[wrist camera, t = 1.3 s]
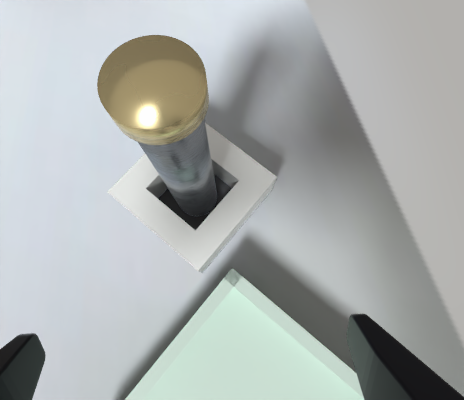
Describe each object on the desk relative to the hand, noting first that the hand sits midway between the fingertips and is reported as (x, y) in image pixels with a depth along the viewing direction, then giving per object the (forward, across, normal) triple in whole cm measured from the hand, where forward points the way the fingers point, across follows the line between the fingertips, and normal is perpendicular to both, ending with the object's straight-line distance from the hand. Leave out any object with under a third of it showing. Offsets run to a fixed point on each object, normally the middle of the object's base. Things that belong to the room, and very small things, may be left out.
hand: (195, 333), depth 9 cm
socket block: (+15, +1, +3) cm, 15 cm away
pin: (+15, +1, +3) cm, 15 cm away
